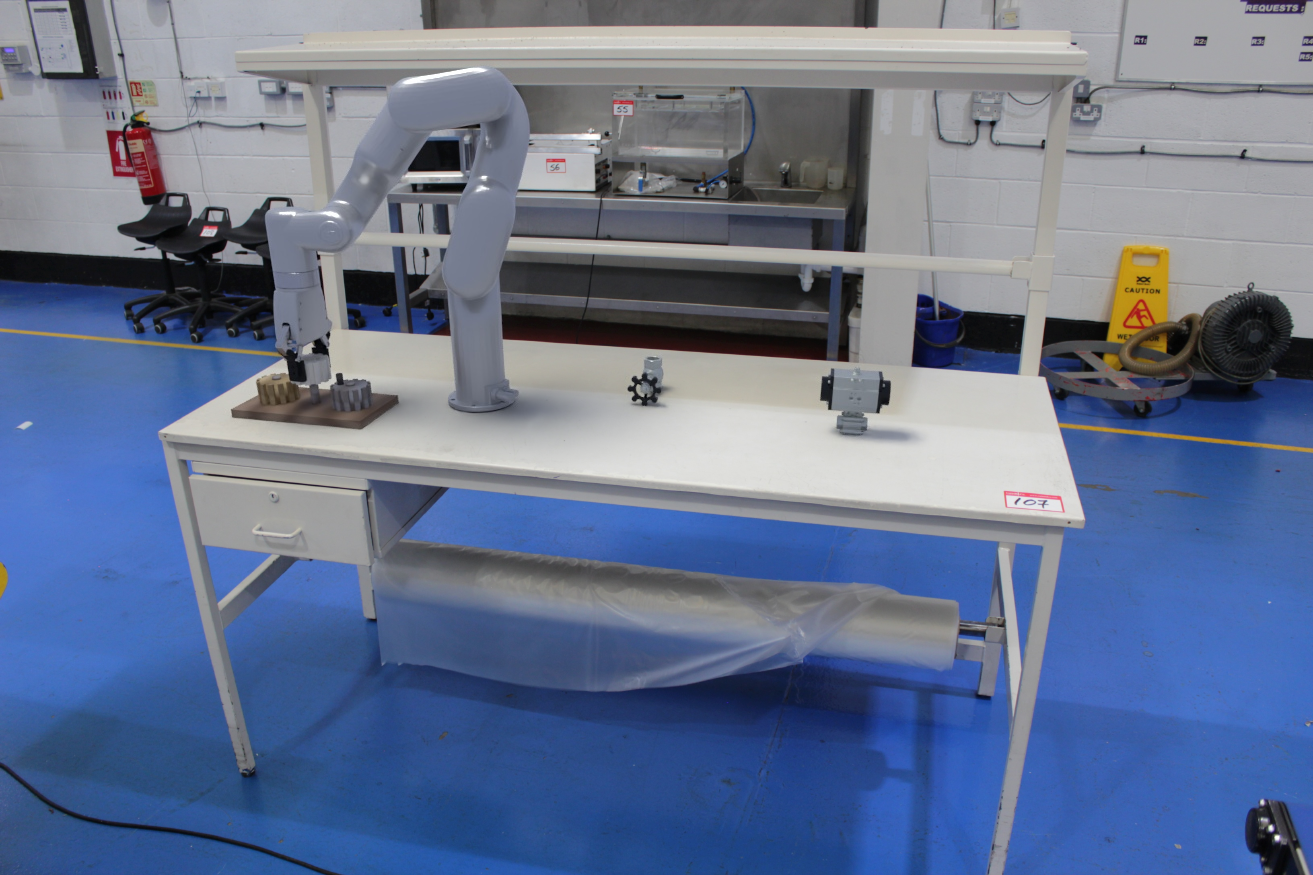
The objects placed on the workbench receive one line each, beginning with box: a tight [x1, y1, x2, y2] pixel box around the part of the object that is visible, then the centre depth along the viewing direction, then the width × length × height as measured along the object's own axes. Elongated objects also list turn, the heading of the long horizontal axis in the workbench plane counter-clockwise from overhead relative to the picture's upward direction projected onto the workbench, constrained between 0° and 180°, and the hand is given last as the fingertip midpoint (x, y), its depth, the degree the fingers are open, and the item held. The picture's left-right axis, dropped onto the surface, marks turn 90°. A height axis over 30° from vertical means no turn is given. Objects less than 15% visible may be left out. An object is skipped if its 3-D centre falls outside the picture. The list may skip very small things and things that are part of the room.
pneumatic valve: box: [819, 366, 892, 436], centre depth 153 cm, size 6×12×12 cm, turn 79°
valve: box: [626, 355, 665, 407], centre depth 172 cm, size 7×7×12 cm
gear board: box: [230, 372, 400, 430], centre depth 163 cm, size 26×14×8 cm, turn 78°
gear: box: [291, 352, 332, 387], centre depth 162 cm, size 7×7×4 cm
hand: (310, 374), depth 162 cm, fingers closed on gear, 7 cm apart
